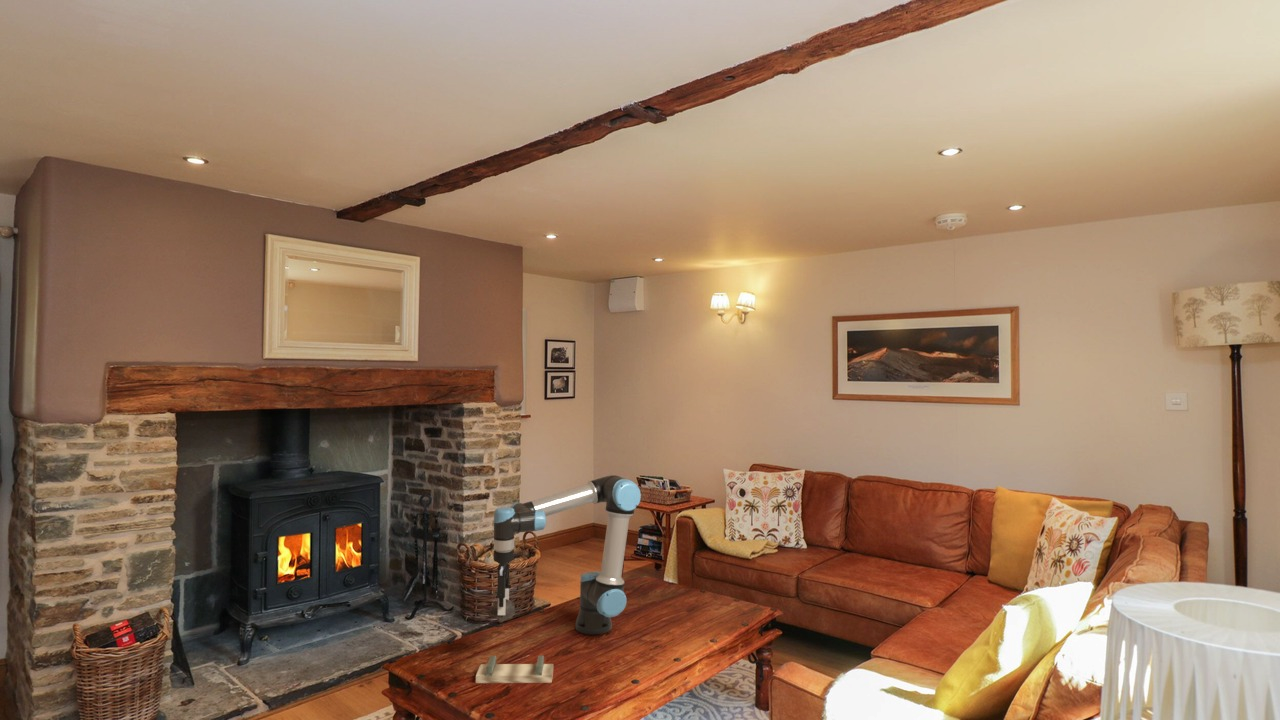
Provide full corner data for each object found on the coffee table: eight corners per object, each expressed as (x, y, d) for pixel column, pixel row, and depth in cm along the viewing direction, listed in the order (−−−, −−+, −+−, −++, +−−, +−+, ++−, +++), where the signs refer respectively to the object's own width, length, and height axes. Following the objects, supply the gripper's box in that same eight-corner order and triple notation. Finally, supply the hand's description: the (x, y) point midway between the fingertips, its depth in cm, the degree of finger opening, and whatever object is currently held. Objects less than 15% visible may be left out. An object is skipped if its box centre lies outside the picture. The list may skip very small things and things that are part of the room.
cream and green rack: (553, 670, 245) (553, 655, 245) (551, 682, 236) (551, 666, 236) (480, 671, 243) (480, 655, 243) (475, 683, 234) (476, 667, 234)
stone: (486, 631, 252) (497, 618, 246) (482, 609, 257) (493, 596, 252) (510, 629, 257) (522, 616, 252) (506, 608, 263) (517, 595, 257)
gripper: (498, 542, 265) (497, 600, 265) (489, 558, 243) (488, 621, 244) (517, 542, 265) (516, 600, 265) (510, 558, 244) (509, 621, 244)
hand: (503, 610), depth 254 cm, fingers closed on stone, 8 cm apart
